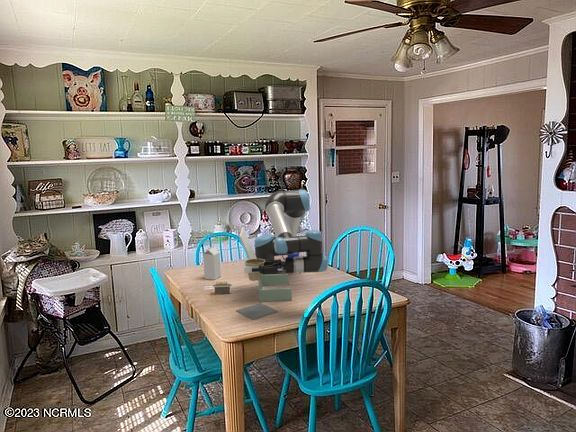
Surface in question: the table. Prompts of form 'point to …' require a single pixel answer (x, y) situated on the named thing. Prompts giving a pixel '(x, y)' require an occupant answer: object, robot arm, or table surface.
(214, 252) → the milk carton
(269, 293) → the cold frame
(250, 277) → the flower pot
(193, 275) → the table surface
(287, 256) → the mug
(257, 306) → the mat
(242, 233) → the frame lid
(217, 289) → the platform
